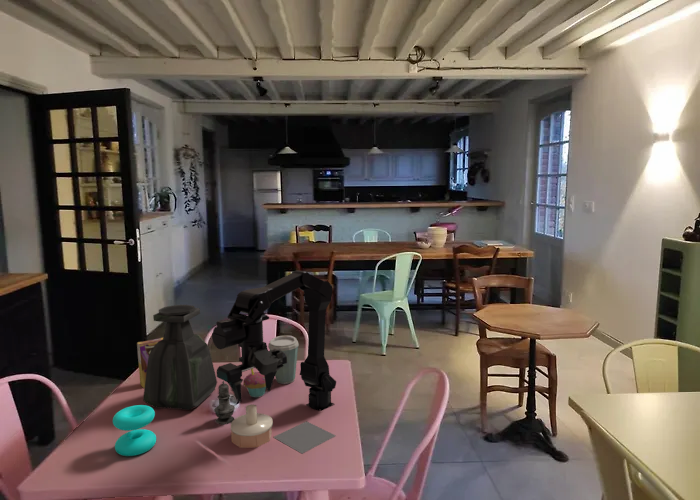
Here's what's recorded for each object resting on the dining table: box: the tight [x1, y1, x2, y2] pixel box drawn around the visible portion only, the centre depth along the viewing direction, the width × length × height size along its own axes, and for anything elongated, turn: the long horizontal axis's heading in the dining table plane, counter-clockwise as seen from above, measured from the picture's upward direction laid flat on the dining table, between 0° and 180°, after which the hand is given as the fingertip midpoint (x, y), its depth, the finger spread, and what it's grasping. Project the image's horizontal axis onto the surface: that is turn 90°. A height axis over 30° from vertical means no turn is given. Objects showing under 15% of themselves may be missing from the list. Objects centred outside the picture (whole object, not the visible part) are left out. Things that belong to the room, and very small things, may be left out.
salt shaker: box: [213, 380, 236, 426], centre depth 139 cm, size 6×6×12 cm
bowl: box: [230, 427, 273, 449], centre depth 128 cm, size 10×10×4 cm
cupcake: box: [243, 368, 267, 398], centre depth 157 cm, size 9×8×12 cm
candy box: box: [136, 337, 163, 389], centre depth 166 cm, size 9×4×15 cm, turn 127°
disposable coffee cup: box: [267, 335, 300, 385], centre depth 167 cm, size 11×11×15 cm
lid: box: [230, 404, 274, 436], centre depth 128 cm, size 11×11×5 cm
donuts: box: [112, 404, 157, 457], centre depth 125 cm, size 10×10×10 cm
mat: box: [273, 421, 337, 454], centre depth 129 cm, size 12×12×1 cm
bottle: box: [142, 304, 218, 411], centre depth 151 cm, size 18×16×30 cm
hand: (254, 395), depth 127 cm, fingers open, 9 cm apart
